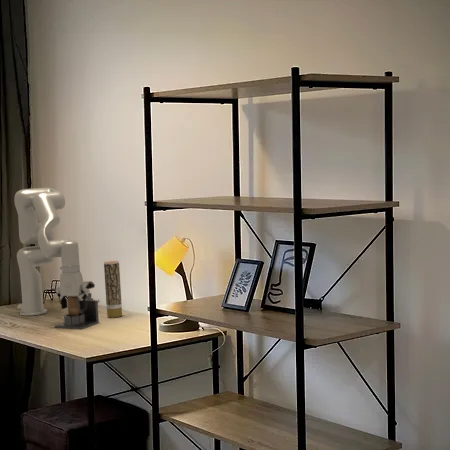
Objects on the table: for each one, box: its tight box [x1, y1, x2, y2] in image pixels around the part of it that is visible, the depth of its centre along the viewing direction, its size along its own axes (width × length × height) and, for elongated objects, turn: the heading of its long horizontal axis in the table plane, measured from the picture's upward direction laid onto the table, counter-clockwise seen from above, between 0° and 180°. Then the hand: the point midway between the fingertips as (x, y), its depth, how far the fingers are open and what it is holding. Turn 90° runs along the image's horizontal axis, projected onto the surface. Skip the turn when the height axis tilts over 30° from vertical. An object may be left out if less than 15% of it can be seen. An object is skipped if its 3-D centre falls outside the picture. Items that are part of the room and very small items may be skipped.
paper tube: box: [103, 260, 123, 319], centre depth 372 cm, size 7×7×25 cm
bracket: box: [53, 299, 99, 330], centre depth 357 cm, size 13×14×10 cm
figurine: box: [78, 280, 100, 304], centre depth 385 cm, size 9×12×15 cm
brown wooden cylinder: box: [66, 296, 79, 316], centre depth 356 cm, size 4×4×14 cm
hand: (73, 308), depth 356 cm, fingers open, 9 cm apart
